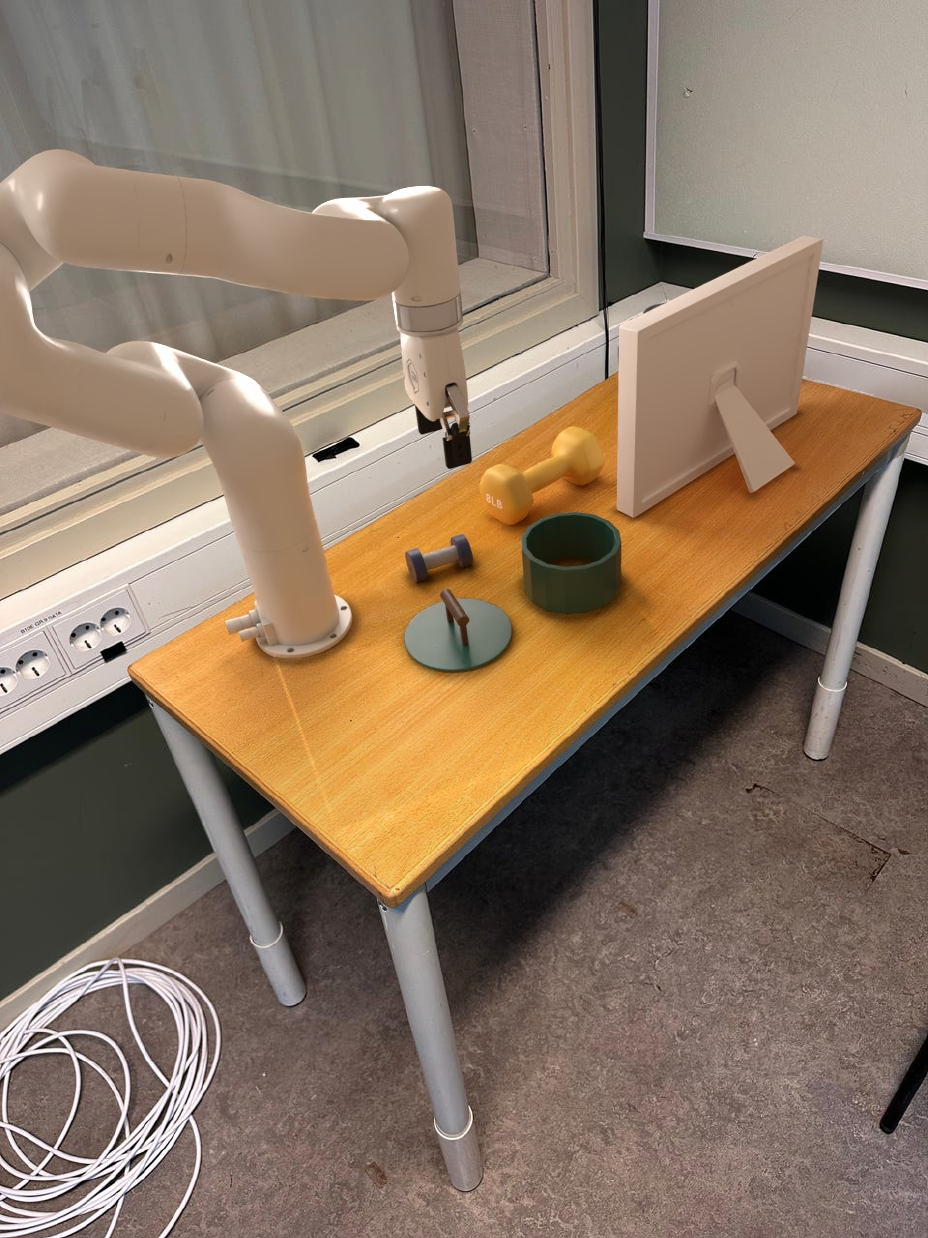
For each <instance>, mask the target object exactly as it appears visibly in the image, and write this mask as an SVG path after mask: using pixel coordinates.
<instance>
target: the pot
mask: <svg viewBox="0 0 928 1238" xmlns="http://www.w3.org/2000/svg"><path fill="white" fill-rule="evenodd" d="M622 543H623V542H622V537H621V533H620V530H619V529H618V528H617V527H616V526H615V525H614V524H613V523H612V522H611V521H610V520H608V519H606V518H603V517H601V516H599V515H596V514H593V513H587V512H579V511H571V512H558V513H553V514H551V515H548V516H545V517H542V518H539V519H538V520H536V521H534V522H533V523H532V524H529V526H528V527H527V528H526V529H525V531H524V533H523V534H522V535H521V538H520V544H521V545H520V547H521V561H522V572H523V574H522V575H523V576H522V577H523V589H524V594H525V595H526V597H527V598H528V599H529V601H531V603H532V604H534V605H536V606H538V607H539V608H541V609H543V610H545V611H547V612H551V613H555V614H561V615H578V614H579V615H581V614H587V613H590V612H593V611H596V610H599V609H601V608H604V607H605V606H607V605H608V604H609V603H610V602H612V601H614V599H615V598H617V595H618V593H619V591H620V590H621V587H622ZM566 559H582V560H587V561H592V562H590V563H587V564H583V565H572V566H570V565H569V566H563V565H556V564H550V563H553V562H556V561H558V560H566Z"/></svg>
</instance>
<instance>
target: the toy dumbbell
mask: <svg viewBox="0 0 928 1238" xmlns="http://www.w3.org/2000/svg"><path fill="white" fill-rule="evenodd" d="M449 543H450V545H449V546H446V547H444V548H440V549H436V550H433V551H430V552H427V553H425V554H422V552H421V551H420V549H419V548H418V547H415V548H413V549H410V550H406V551H405V553H404V559H405V563H406V566H407V567H406V568H407V569H408V572H409V574H410V576H411V577H412V579H413V580H414V582H415V583H416V584H417V583H419V582H423V581H426V580H428V576H429V575H428V571H430V570H434V569H437V568H440V567H443V566H446V565H450V564H452V563H455V562H456V563H457V565H458V566H459V567H460V568H461V569H463V568H466V567H469V566H472V565H473V563H474V555H473V551H472V547H471V544H470V542H469V540H468V538H467V537H466V536H465V534H463V533H460V534H458V535H454V536H451V537H450V540H449Z"/></svg>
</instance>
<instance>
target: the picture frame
mask: <svg viewBox="0 0 928 1238" xmlns="http://www.w3.org/2000/svg"><path fill="white" fill-rule="evenodd" d="M823 244H824V239H823V238H819V237H813V236H808V235H802V236H799V237H798V238H796V239H793V240H792V241H790V242H787V243H786V244H783V245H781V246H779V247H777V248H775V249H773V250H771V251H769V252H766V253H765V254H763V255H761V256H759V257H756V258H755V259H753V260H751V261H748V262H746V263H745V264H742V265H740V266H738V267H737V268H734V269H732V270H730V271H729V272H726V273H724V274H722V275H719V276H718V277H716V278H714V279H712V280H710V281H707V282H705V283H703V284H701V285H700V286H698V287H695V288H694V289H692V290H689V291H687V292H685V293H683V294H681V295H679V296H677V297H675V298H673V299H671V300H669V301H666V302H667V303H666V302H664V303H665V304H663V305H661V306H659V307H657V308H654V309H652V310H650V311H648V312H646V313H644V314H643V313H642V314H640V315H638V316H636V317H634V318H632V319H630V320H628V321H625V322H624V323H622V324H620V325H619V327H618V345H619V368H618V367H617V368H618V370H617V371H618V377H617V378H618V379H617V380H618V381H617V382H618V383H617V460H616V461H617V463H616V464H617V465H616V467H617V470H616V475H617V476H616V510H617V511H619V512H621V513H623V514H625V515H627V516H629V517H630V518H632V519H635V518H636V517H638V516H639V515H641V514H642V513H644V512H646V511H647V510H649V509H650V508H652V507H653V506H655V505H657V504H658V503H660V502H661V501H663V500H664V499H666V498H668V497H669V496H671V495H672V494H674V493H675V492H677V491H679V490H680V489H681V488H684V487H685V486H686V485H688V484H690V483H692V481H694V480H695V479H697V478H698V477H700V476H702V475H703V474H705V473H706V472H708V471H710V470H711V469H713V468H715V466H717V465H719V464H721V463H722V462H724V461H725V460H727V459H728V458H730V457H732V456H733V455H735V457H736V460H737V463H738V464H739V468H740V471H741V473H742V476H743V479H744V481H745V484H746V486H747V490H748V492H749V494H752V493H754V492H756V491H758V490H759V489H761V488H763V486H765V485H766V484H768V483H769V482H771V481H772V480H774V479H775V478H776V477H778V476H779V475H781V474H782V473H783V472H785V471H786V470H788V469H789V468H791V467H792V466H794V465H795V464H796V462H795V461H794V460H793V459H792V458H791V456H790V455H789V453H788V452H787V451H786V449H785V448H784V447H783V446H782V444H781V443H780V442H779V440H778V439H777V438H776V436H775V435H774V434H773V432H772V431H773V430H774V429H775V428H777V427H779V425H781V424H783V423H784V422H786V421H787V420H789V419H791V418H792V417H794V416H795V415H797V413H798V408H799V401H800V395H801V389H802V388H801V387H802V382H803V375H804V369H805V363H806V355H807V349H808V343H809V336H810V330H811V329H810V328H811V322H812V318H813V317H812V316H813V315H812V314H813V311H814V303H815V296H816V292H817V291H816V289H817V283H818V278H819V270H820V264H821V257H822V251H823Z"/></svg>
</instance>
